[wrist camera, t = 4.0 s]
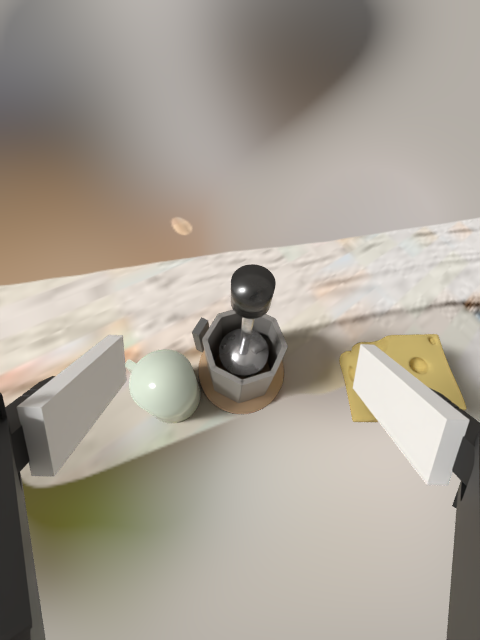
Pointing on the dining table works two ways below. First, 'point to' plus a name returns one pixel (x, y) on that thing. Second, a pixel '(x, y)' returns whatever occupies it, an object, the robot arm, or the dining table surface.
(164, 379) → the pale green dome knob
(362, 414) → the cheese
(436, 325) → the dining table surface
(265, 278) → the plunger
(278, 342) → the grey octagonal cup
